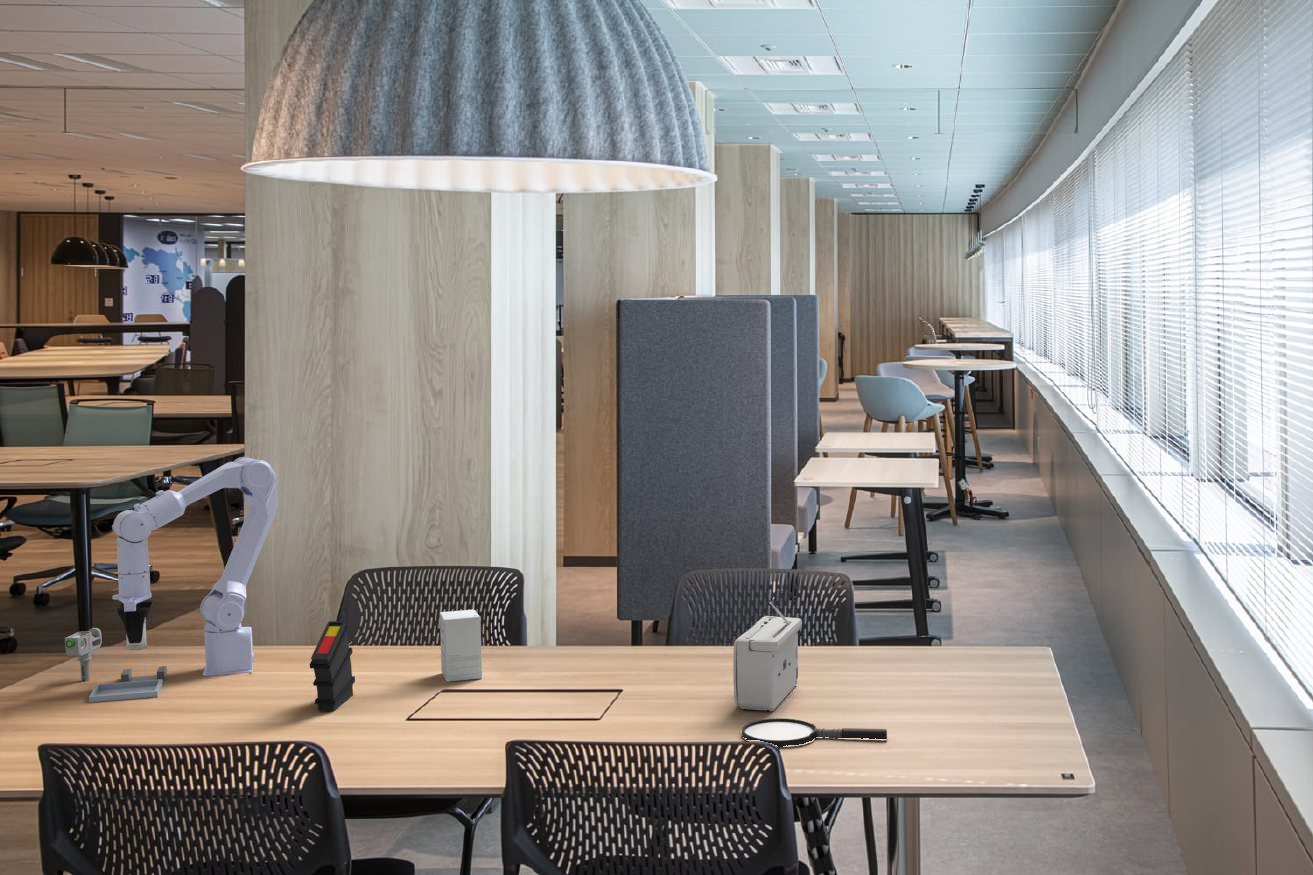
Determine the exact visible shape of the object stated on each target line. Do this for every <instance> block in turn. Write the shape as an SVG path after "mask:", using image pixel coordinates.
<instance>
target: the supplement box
mask: <svg viewBox="0 0 1313 875" xmlns="http://www.w3.org/2000/svg"><path fill="white" fill-rule="evenodd" d="M481 626H482V625H481V616H480V615H479V614H478V612H477V611H476V610H475V609H465V610H463V609H462V610H454V611H452V610H451V611H440V612H439V628H440V629H439V630H440V659H441V660H440V662H441V664H440V665H441V673H442V676H443V678H444V679H445V682H447V683H448V682H455V681H456V682H457V681H468V680H469V681H470V680H479V679H483V664H482V663H483V662H482V661H483V660H482V635H481V634H482V633H481V632H482V631H481V630H482V629H481V628H482V627H481Z"/></svg>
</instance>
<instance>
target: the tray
mask: <svg viewBox="0 0 1313 875" xmlns="http://www.w3.org/2000/svg"><path fill="white" fill-rule="evenodd" d="M163 684H164V681H163V679H159V680H146V681H134V682H121V681H120V682H111V683H109V682H108V683H97V684H95V686H94V688H93V689H92V691H91V692H90V694H89V696H88V703H89V704H93V703H104V702H116V701H117V702H118V701H129V700H142V699H152V698H153V699H154V698H156V699H157V698H158V697H159V695H160V693H161V690H162V688H163V686H164V685H163Z"/></svg>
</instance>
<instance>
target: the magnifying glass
mask: <svg viewBox="0 0 1313 875" xmlns="http://www.w3.org/2000/svg"><path fill="white" fill-rule="evenodd" d="M742 735H743V737H744V738H747V739H746V740H760V741H764V742H768V743H772V744H774V745H777V746H778V747H779V748H778V749H781V748H780V747H783V746H786V745H787V746H788V745H799V744H804V743H806V742H809V741H812V740H813V739H814V738H816V737H823V738H825V737H829V738H861V739H863V738H869V739H875V738H876V739H887V740H888V730H887V729H886V728H856V727H855V728H853V727H850V728H849V727H847V728H846V727H843V728H833V729H832V728H830V729H829V728H817V726H816V725H815V724H814V723H810V722H808V721H804V720H800V719H795V718H785V717H784V718H782V717H781V718H777V717H776V718H766V719H759V720H754V721H751V722H749V723H747V724H745V725H744V726H743V727H742V729H741V736H742ZM743 737H742V738H743Z"/></svg>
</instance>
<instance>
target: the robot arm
mask: <svg viewBox="0 0 1313 875" xmlns="http://www.w3.org/2000/svg"><path fill="white" fill-rule="evenodd" d="M277 480H278V476H277V474H276V473H275V471H274V470H273V468H272V466H271V464H270V463H269V462H267V461H265V460H262V459H254V458H251V457H249V456H242V457H241V456H240V457H238V458H236V459H234V460H233V461H228V462H226V463H225V464H223V465H221V466H219V467H218V468H216V469H214V470H213V471H211V472H209V473H207V474H205V475H203V476H202V477H200V478H199V479H196V480H195V481H193V482H192V483H190V484H188V485H186V486H185V487H183V488H182V489H180V490H178V491H174V490H171V489H168V490H165V491H164V490H158V491H157V492H155V496H154V497H152V498H150V499H148V500H146V501H144V502H143V503H135V504H134V505H133V508H134V509H131V510H129V509H127V510H123V511H122V512H120V513H118V514H117V515H116V518H115V517H114V520H113V524H112V525H111V528H112V532H113V533H114V534H115V536H116V546H117V550H116V555H117V556H116V558H117V560H116V561H117V574H118V575H117V577H118V578H117V580H118V594H113V595H112V596H111V597H112V600H117V601H119V602H121V603H122V604H121V607H118V608H117V609H116V610H117V611H116V612H117V615H118V616H119V618H120V619H121V621H122V623H123V626H124V629H125V633H126V634H127V638H128V641H129V643H130V644H132V643H141V640H142V635H143V626H144V620H145V617H146V624H147V621H148V617H149V614H150V611H151V607H152V606H153V603H154V600H153V599H151V598H152V597H153V594H152V592H151V579H150V578H151V576H150V575H151V574H150V572H151V571H150V554H149V552H150V551H149V546H148V545H149V543H148V542H149V541H148V538H149V537H150V535H151V533H152V531H156V530H159V528H161V527H163V526H166V525H167V524H169V523H170V522H172V521H174V520H176V519H178V518H180V517H181V516H183V515H184V513H185V510H186V508H187V506H189V505H191V504H192V503H195V502H197V501H199V500H201V499H204V498H205V497H207V496H209V495H211V494H213V493H215V492H218V491H220V490H221V489H228V488H229V489H230V488H231V489H239V490H240V491H241V493H243V496H244V497H245V499H246V501H247V503H248V504H249V510H248V512H247V514H246V516H245V518H244V521H243V523H242V526H241V527H240V530H239V533H238V535H237V537H236V539H235V540H236V541H235V543H234V545H233V547H232V550H231V552H230V555H229V557H228V559H227V563H226V565H225V567H224V570H223V572H222V574H221V576H220V578H219V579H218V580H217V581H216V582H215V583H214V584H213V586H212V588H211V590H210V592H209V593H208V594H207V595H206V596H205V597H204V598H203V599H202V601H201V603H200V606H199V607H200V609H199V610H200V615H201V617H202V618H203V619H204V621H205V625H204V627H203V635H204V637H203V638H204V655H205V657H204V658H205V665H204V669H203V672H202V676H203V677H207V676H208V677H209V676H210V677H211V676H219V675H236V674H247V673H249V674H252V673H253V668H254V663H255V653H254V649H253V648H254V646H253V631H252V630H253V628H252V627H251V626H242V622H243V620H244V618H245V603H246V600H247V597H248V596H247V585H248V582H249V579H250V577H251V575H252V574H253V573H252V572H253V570H254V568H255V565H256V563H257V560H258V558H259V556H260V553H261V550H262V549H263V546H264V544H265V543H264V542H265V540H266V538H267V536H268V533H269V531H270V529H271V526H272V524H273V521H274V519H275V516H276V514H277V511H278V508H279V497H278V491H277V490H278V489H277ZM127 638H126V639H127Z"/></svg>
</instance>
